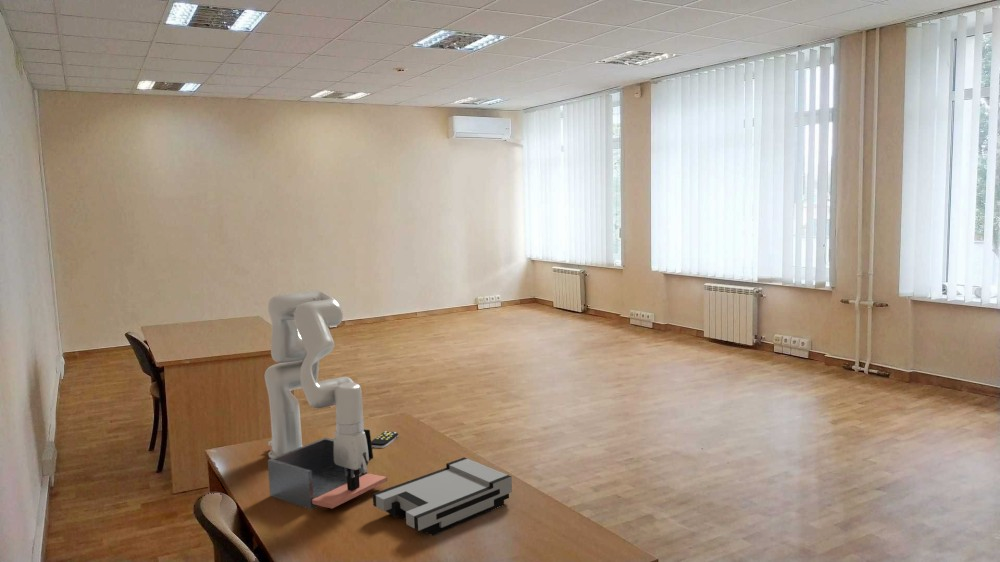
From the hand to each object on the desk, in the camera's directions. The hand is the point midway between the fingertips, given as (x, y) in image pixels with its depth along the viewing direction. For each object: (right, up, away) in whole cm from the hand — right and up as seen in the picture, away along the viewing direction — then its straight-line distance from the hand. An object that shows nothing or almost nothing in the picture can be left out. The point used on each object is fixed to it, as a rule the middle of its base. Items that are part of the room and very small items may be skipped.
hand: (353, 488), depth 205 cm
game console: (+27, -4, -8) cm, 28 cm away
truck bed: (-12, -3, +9) cm, 15 cm away
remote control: (+1, +2, +48) cm, 48 cm away
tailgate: (-4, 0, +3) cm, 5 cm away
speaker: (-4, 0, +30) cm, 30 cm away
